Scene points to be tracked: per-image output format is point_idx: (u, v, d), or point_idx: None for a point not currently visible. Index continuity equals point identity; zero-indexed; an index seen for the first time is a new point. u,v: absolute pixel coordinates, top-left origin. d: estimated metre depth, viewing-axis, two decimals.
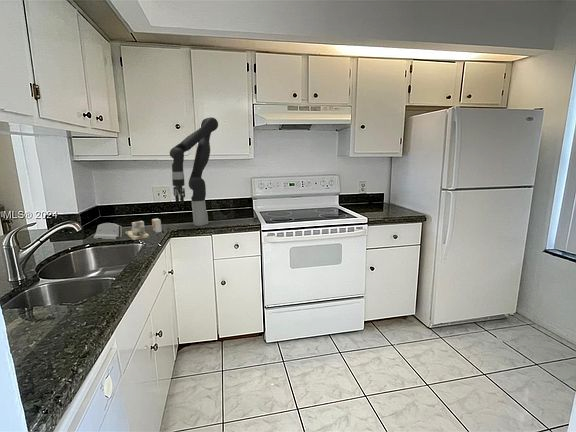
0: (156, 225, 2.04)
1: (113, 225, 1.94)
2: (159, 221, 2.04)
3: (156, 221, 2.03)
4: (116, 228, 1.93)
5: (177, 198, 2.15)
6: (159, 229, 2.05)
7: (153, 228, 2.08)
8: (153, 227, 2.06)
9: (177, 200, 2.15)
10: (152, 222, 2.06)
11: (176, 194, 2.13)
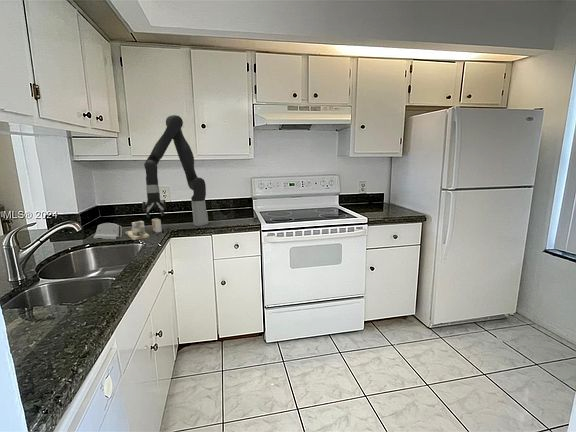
0: (156, 225, 2.04)
1: (113, 225, 1.94)
2: (159, 221, 2.04)
3: (156, 221, 2.03)
4: (116, 228, 1.93)
5: None
6: (159, 229, 2.05)
7: (153, 228, 2.08)
8: (153, 227, 2.06)
9: None
10: (152, 222, 2.06)
11: (149, 209, 2.02)
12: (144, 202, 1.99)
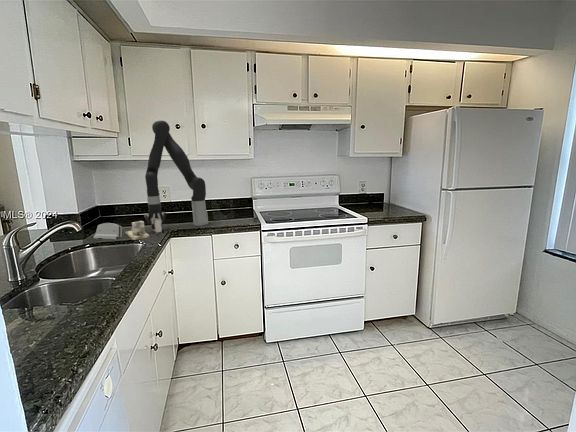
0: (156, 225, 2.04)
1: (113, 225, 1.94)
2: (159, 221, 2.04)
3: (156, 221, 2.03)
4: (116, 228, 1.93)
5: None
6: (159, 229, 2.05)
7: None
8: None
9: None
10: None
11: (153, 220, 2.04)
12: (146, 215, 2.00)
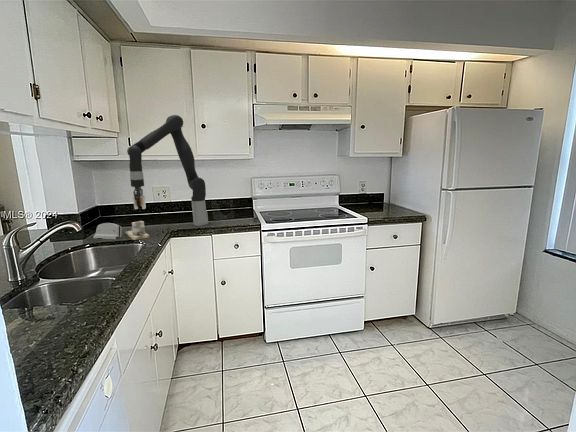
0: (144, 201, 1.98)
1: (113, 225, 1.94)
2: (144, 197, 2.00)
3: (143, 197, 1.98)
4: (116, 228, 1.93)
5: None
6: (145, 205, 2.00)
7: (135, 206, 1.97)
8: None
9: None
10: None
11: None
12: (137, 191, 1.92)
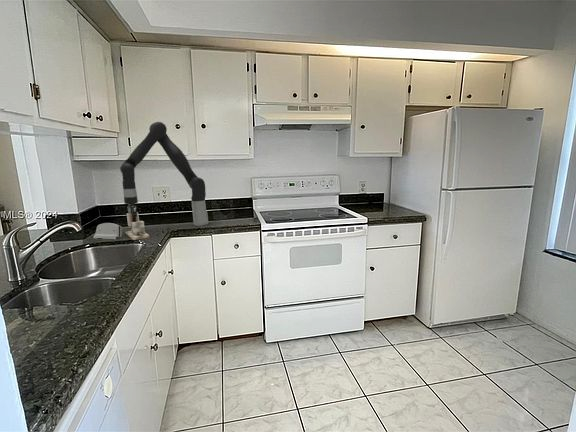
0: None
1: (113, 225, 1.94)
2: None
3: None
4: (116, 228, 1.93)
5: None
6: None
7: (130, 223, 1.97)
8: None
9: None
10: (131, 216, 1.97)
11: (134, 213, 1.98)
12: (136, 208, 1.94)
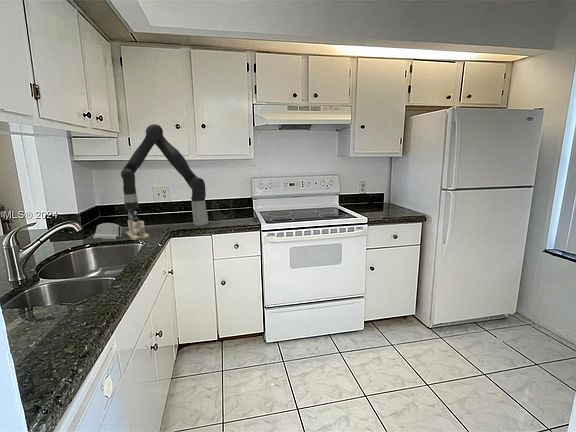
0: None
1: (113, 225, 1.94)
2: None
3: None
4: (116, 228, 1.93)
5: None
6: None
7: (131, 230, 1.98)
8: None
9: None
10: None
11: (135, 218, 1.97)
12: None
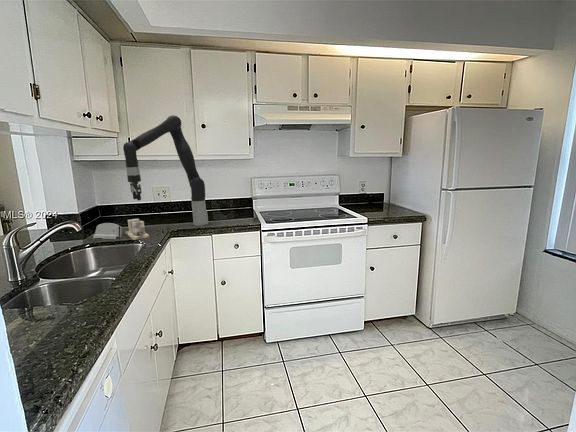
0: None
1: (113, 225, 1.94)
2: None
3: None
4: (116, 228, 1.93)
5: None
6: None
7: (131, 230, 1.98)
8: None
9: None
10: None
11: None
12: (139, 184, 1.98)
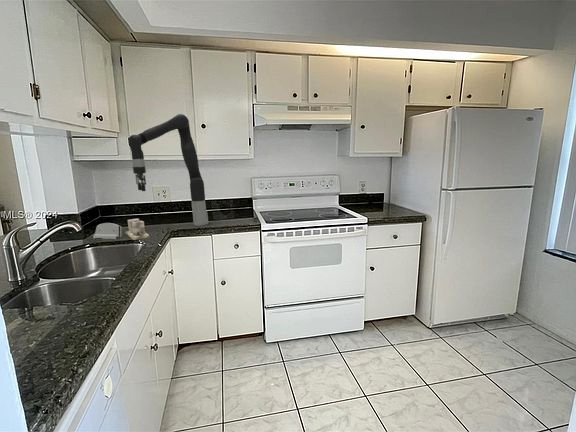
0: None
1: (113, 225, 1.94)
2: None
3: None
4: (116, 228, 1.93)
5: None
6: None
7: (131, 230, 1.98)
8: None
9: None
10: None
11: (143, 182, 2.08)
12: (144, 175, 2.05)
